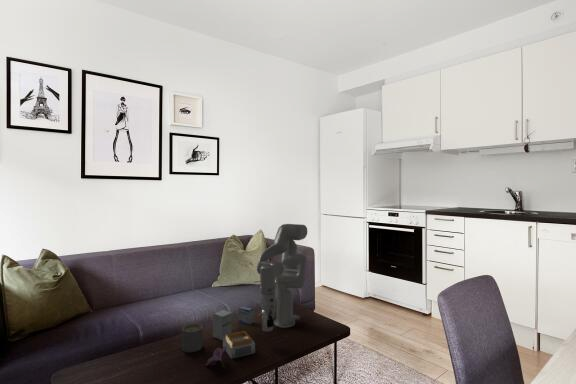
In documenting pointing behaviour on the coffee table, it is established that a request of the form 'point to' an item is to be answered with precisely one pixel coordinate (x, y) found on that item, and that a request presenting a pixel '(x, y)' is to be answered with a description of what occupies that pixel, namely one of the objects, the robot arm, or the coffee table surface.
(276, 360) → the coffee table surface
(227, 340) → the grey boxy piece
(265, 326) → the spout can
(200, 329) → the coffee mug
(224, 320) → the supplement box
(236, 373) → the coffee table surface
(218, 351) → the lily
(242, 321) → the medicine box
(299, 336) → the coffee table surface
